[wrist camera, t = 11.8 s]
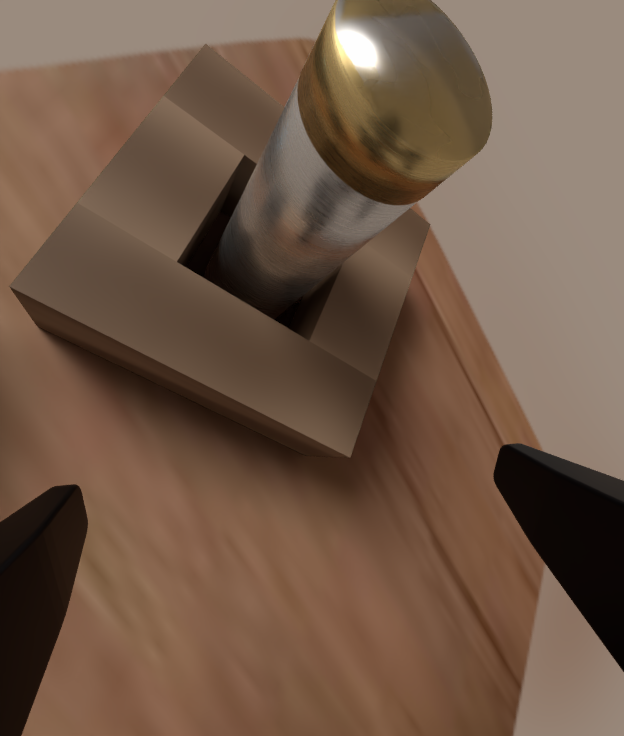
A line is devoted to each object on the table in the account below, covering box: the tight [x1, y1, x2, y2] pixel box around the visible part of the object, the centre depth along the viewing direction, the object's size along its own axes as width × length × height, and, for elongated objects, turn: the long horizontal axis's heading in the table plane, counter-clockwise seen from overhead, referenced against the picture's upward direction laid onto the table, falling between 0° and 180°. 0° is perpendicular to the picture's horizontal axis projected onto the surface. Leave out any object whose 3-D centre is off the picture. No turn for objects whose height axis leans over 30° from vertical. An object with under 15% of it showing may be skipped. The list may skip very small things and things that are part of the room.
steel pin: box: [204, 0, 492, 320], centre depth 13 cm, size 4×4×12 cm
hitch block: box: [9, 44, 430, 458], centre depth 17 cm, size 12×12×4 cm
